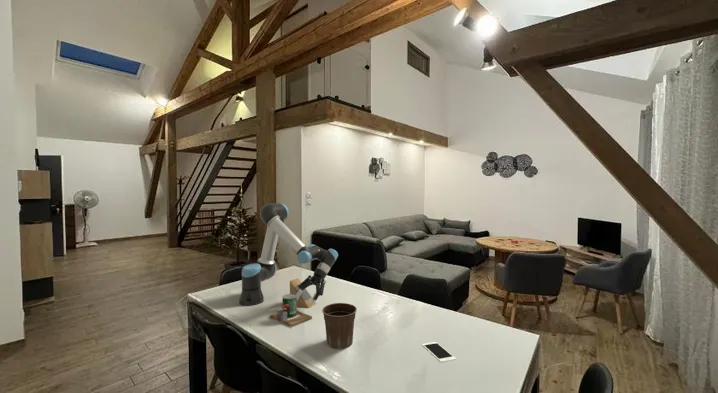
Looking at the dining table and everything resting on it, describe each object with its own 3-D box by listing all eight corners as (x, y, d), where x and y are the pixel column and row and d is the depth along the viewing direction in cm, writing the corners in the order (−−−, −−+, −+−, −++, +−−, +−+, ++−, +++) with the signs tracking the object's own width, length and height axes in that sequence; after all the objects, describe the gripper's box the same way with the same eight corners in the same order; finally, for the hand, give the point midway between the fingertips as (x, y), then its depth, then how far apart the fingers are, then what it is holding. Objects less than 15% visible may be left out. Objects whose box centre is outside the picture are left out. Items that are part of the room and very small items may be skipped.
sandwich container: (309, 308, 190) (309, 284, 190) (289, 304, 197) (289, 280, 197) (317, 303, 198) (317, 280, 198) (297, 300, 205) (297, 277, 205)
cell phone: (440, 363, 130) (440, 361, 130) (421, 345, 145) (421, 343, 145) (456, 360, 132) (456, 358, 132) (435, 342, 148) (436, 341, 148)
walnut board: (269, 317, 176) (269, 307, 176) (289, 310, 187) (289, 301, 187) (291, 327, 163) (291, 316, 163) (311, 319, 174) (311, 309, 174)
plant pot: (343, 355, 135) (343, 318, 135) (315, 345, 144) (315, 311, 144) (363, 340, 149) (363, 307, 149) (335, 332, 158) (335, 300, 157)
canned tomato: (279, 317, 173) (279, 297, 172) (287, 312, 180) (287, 293, 180) (291, 319, 170) (291, 299, 170) (299, 314, 177) (299, 294, 177)
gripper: (339, 278, 187) (320, 310, 176) (311, 271, 203) (293, 300, 192) (332, 271, 183) (313, 303, 172) (305, 264, 199) (285, 293, 188)
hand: (302, 302), depth 182 cm, fingers open, 13 cm apart
